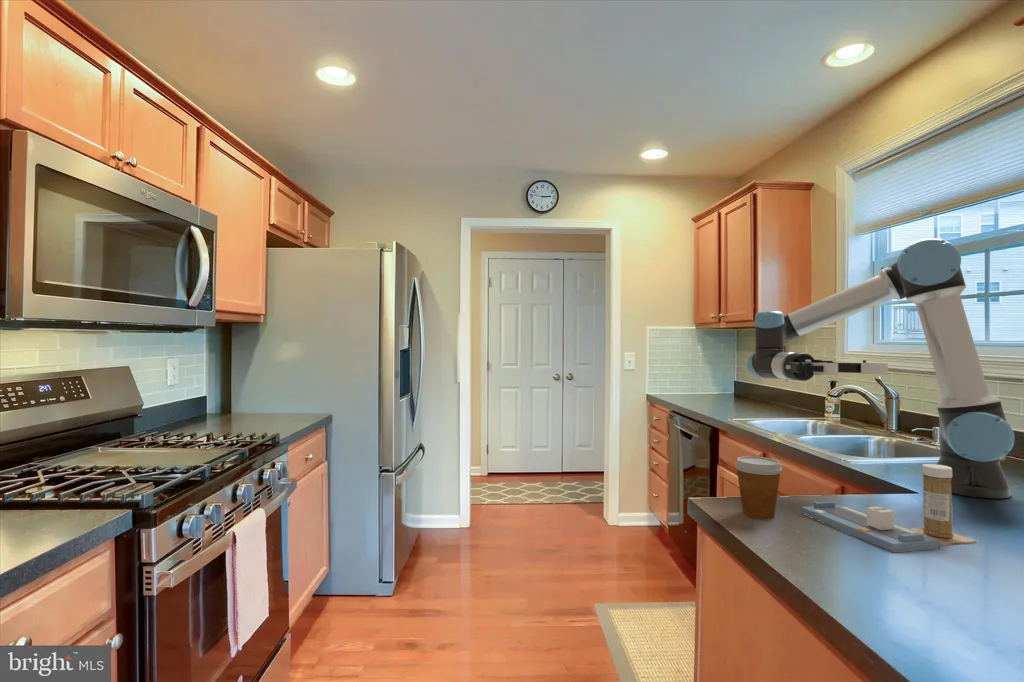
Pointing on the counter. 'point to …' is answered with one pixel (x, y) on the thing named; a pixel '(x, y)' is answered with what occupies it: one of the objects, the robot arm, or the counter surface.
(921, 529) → the cork coaster
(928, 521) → the sprinkles bottle
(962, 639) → the counter surface
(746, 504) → the disposable coffee cup
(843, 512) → the switch board
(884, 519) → the ivory tab
